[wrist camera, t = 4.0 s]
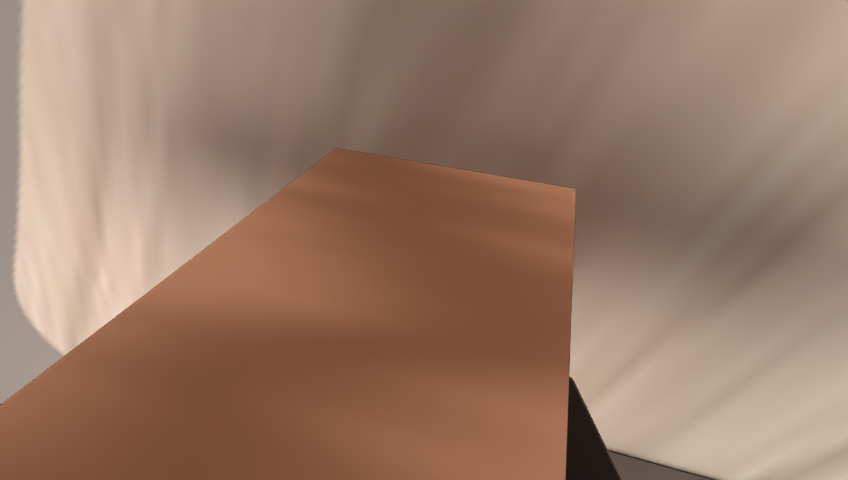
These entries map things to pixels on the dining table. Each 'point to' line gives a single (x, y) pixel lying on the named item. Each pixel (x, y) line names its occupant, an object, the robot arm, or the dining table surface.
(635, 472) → the socket
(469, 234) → the peg
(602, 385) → the dining table surface
